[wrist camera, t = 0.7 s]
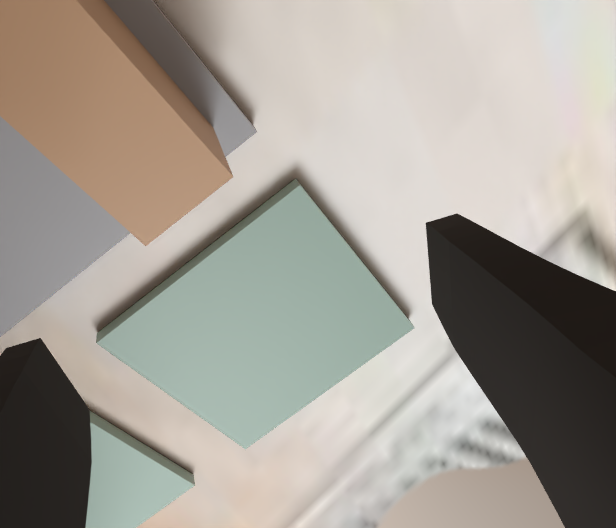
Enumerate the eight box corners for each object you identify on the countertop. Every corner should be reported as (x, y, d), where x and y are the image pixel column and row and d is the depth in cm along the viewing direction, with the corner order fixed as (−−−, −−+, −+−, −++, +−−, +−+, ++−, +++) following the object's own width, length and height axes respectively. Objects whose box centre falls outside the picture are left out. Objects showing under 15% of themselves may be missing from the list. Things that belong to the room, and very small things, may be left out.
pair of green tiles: (45, 581, 28) (43, 593, 28) (-135, 513, 23) (-141, 526, 23) (409, 319, 26) (414, 327, 25) (295, 178, 21) (299, 184, 20)
